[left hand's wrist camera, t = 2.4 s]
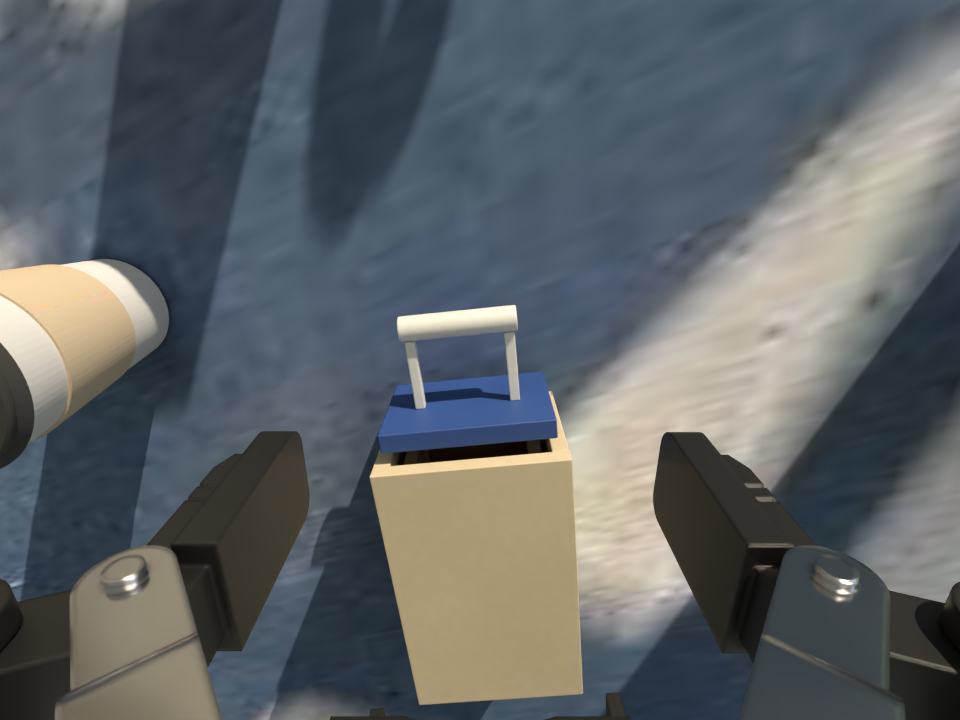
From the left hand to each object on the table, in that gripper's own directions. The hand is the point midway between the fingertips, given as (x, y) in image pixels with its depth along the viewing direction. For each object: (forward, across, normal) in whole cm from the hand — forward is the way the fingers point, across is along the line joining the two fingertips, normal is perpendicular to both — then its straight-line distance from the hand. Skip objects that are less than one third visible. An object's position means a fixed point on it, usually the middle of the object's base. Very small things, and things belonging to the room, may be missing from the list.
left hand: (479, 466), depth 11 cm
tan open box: (+23, 0, +19) cm, 30 cm away
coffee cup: (+23, +24, +3) cm, 34 cm away
